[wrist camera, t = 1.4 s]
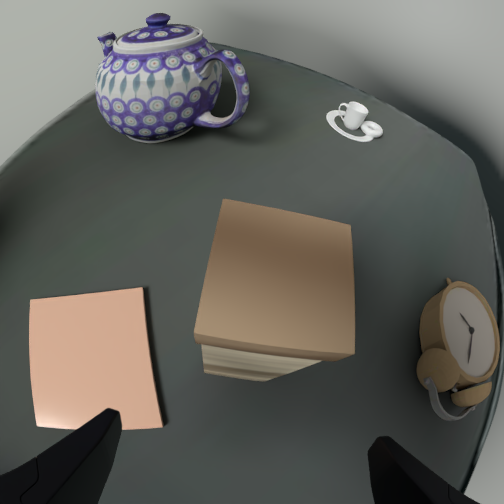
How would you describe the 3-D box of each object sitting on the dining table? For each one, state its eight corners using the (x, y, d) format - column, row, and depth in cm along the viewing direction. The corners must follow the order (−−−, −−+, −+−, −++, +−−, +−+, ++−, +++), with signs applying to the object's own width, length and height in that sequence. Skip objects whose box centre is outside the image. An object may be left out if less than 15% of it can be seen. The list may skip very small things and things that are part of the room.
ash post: (265, 383, 20) (354, 354, 8) (202, 374, 20) (193, 333, 8) (272, 324, 22) (350, 225, 10) (212, 314, 22) (223, 198, 10)
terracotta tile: (163, 426, 17) (162, 427, 17) (40, 425, 15) (37, 426, 14) (143, 290, 22) (142, 287, 22) (33, 302, 19) (30, 299, 19)
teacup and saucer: (382, 135, 40) (392, 117, 37) (367, 154, 36) (379, 133, 33) (337, 107, 42) (345, 88, 38) (316, 122, 38) (325, 100, 35)
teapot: (271, 134, 34) (299, 27, 21) (184, 200, 27) (182, 54, 14) (148, 76, 39) (147, -2, 26) (70, 118, 32) (51, 29, 19)
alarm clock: (500, 308, 24) (498, 425, 14) (474, 327, 27) (462, 437, 18) (444, 260, 25) (432, 389, 16) (417, 285, 29) (392, 404, 19)
